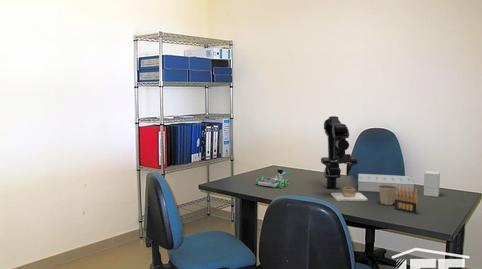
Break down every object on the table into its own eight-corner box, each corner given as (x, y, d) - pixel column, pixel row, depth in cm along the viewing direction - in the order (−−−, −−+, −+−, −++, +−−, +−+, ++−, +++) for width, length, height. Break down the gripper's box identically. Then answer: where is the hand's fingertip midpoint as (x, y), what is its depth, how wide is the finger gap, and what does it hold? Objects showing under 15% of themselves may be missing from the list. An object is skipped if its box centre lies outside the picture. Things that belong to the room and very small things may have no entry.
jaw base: (331, 194, 230) (331, 187, 229) (360, 194, 230) (360, 187, 230) (336, 200, 217) (336, 193, 216) (367, 200, 217) (367, 193, 217)
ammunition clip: (417, 213, 194) (419, 188, 193) (416, 214, 193) (417, 188, 192) (395, 208, 202) (396, 184, 200) (394, 209, 200) (394, 185, 199)
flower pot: (373, 202, 214) (373, 185, 213) (388, 200, 217) (388, 184, 216) (385, 206, 205) (386, 189, 204) (400, 205, 208) (401, 188, 207)
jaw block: (342, 194, 227) (342, 186, 226) (351, 194, 227) (351, 186, 226) (345, 197, 220) (345, 189, 219) (355, 197, 220) (355, 189, 219)
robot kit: (298, 182, 262) (298, 168, 261) (279, 190, 241) (279, 174, 240) (273, 179, 272) (273, 165, 271) (252, 186, 252) (252, 171, 251)
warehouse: (358, 191, 240) (358, 178, 239) (357, 185, 253) (358, 173, 253) (414, 194, 232) (414, 181, 231) (410, 188, 245) (411, 176, 245)
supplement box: (439, 194, 231) (440, 171, 229) (438, 197, 224) (439, 174, 223) (424, 192, 234) (425, 170, 233) (423, 195, 228) (424, 172, 227)
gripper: (325, 150, 216) (325, 179, 218) (361, 149, 217) (360, 179, 219) (320, 147, 227) (320, 175, 229) (354, 146, 228) (353, 174, 230)
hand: (338, 176), depth 226 cm, fingers open, 9 cm apart
